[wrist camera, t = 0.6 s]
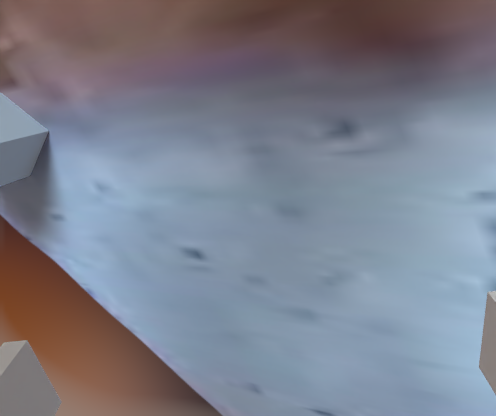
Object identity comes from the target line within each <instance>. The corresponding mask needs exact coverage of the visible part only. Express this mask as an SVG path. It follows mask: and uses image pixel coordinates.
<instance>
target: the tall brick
mask: <svg viewBox="0 0 496 416" xmlns="http://www.w3.org/2000/svg"><path fill="white" fill-rule="evenodd" d="M48 132H49V131H48V130H47V129H46V128H44V127H43V126H42V125H41V124H39V123H38V122H37V121H36V120H34V119H33V118H32V117H31V116H29V115H28V114H27V113H26V112H24V111H23V110H22V109H21V108H20V107H18V106H17V105H16V104H15V103H13V102H12V101H11V100H10V99H8V98H7V97H6V96H5V95H3V94H2V93H0V187H1V186H4V185H6V184H9V183H12V182H15V181H17V180H20V179H23V178H26V177H28V176H31V173H32V171H33V168H34V166H35V163H36V161H37V159H38V156H39V154H40V151H41V149H42V146H43V144H44V141H45V139H46V137H47V134H48Z"/></svg>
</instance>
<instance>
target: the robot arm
mask: <svg viewBox="0 0 496 416" xmlns="http://www.w3.org/2000/svg"><path fill="white" fill-rule="evenodd" d="M479 368H480V370H481V371H482V373H483V375H484V376H485V378H486V380H487V381H488V383H489V384H490V386H491V388H492V389H493V391H494V393H495V394H496V291H493V292H488V293H487V302H486V310H485V319H484V327H483V336H482V344H481V353H480V361H479ZM60 404H61V400H60V398H59V397H58V395H57V393H56V391H55V389H54V388H53V386H52V384H51V382H50V380H49V379H48V377H47V375H46V373H45V371H44V370H43V368H42V367H41V364H40V363H39V361H38V359H37V357H36V355H35V354H34V352H33V350H32V348H31V347H30V345H29V343H28V341H27V340H26V341H15V342H6V343H3V344H2V346H1V347H0V416H55V414H56V412H57V410H58V408H59V406H60Z"/></svg>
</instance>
